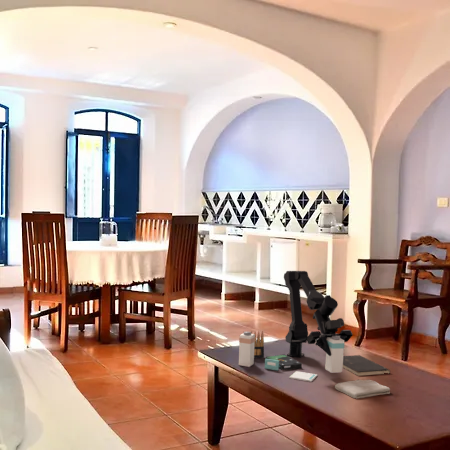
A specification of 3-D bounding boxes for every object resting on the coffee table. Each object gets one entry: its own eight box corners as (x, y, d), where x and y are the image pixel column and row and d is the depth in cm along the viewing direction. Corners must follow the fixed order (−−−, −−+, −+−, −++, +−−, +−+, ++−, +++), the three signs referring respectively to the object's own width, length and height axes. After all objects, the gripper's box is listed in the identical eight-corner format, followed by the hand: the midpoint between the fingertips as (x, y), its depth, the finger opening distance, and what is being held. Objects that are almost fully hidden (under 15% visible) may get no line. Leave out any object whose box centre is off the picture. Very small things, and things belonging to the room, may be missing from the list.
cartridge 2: (324, 368, 230) (327, 335, 230) (336, 368, 232) (338, 334, 231) (331, 372, 225) (333, 338, 225) (342, 372, 227) (344, 337, 226)
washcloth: (392, 394, 212) (392, 386, 212) (355, 400, 204) (355, 392, 204) (370, 385, 223) (370, 377, 222) (334, 390, 214) (334, 382, 214)
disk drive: (302, 369, 241) (284, 360, 254) (302, 363, 241) (284, 353, 254) (281, 371, 237) (264, 362, 250) (281, 365, 236) (264, 355, 250)
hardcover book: (357, 377, 233) (357, 371, 233) (329, 361, 254) (329, 356, 254) (390, 374, 238) (390, 369, 238) (360, 359, 260) (360, 355, 259)
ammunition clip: (262, 356, 257) (263, 330, 257) (264, 357, 256) (265, 331, 255) (240, 357, 255) (241, 331, 254) (241, 358, 253) (242, 331, 253)
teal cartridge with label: (265, 367, 239) (265, 358, 239) (278, 370, 237) (278, 360, 236) (264, 368, 238) (264, 359, 238) (278, 370, 236) (278, 361, 236)
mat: (296, 372, 234) (296, 370, 234) (317, 375, 230) (317, 374, 230) (289, 378, 226) (289, 376, 226) (311, 381, 222) (311, 380, 222)
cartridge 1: (242, 362, 247) (244, 330, 246) (253, 363, 245) (255, 331, 244) (238, 365, 242) (239, 332, 242) (249, 366, 240) (250, 334, 240)
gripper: (311, 311, 228) (323, 345, 218) (351, 310, 234) (365, 343, 224) (301, 326, 236) (313, 360, 226) (340, 325, 242) (353, 357, 232)
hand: (336, 355), depth 227 cm, fingers closed on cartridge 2, 5 cm apart
